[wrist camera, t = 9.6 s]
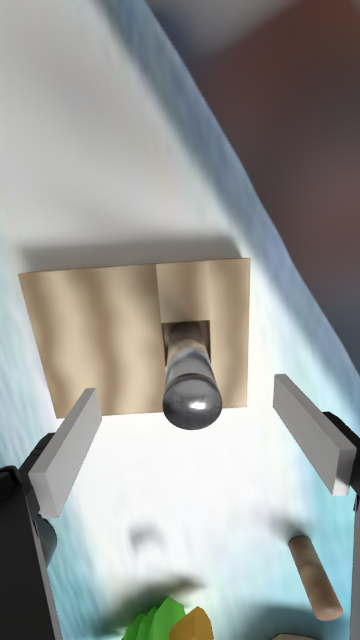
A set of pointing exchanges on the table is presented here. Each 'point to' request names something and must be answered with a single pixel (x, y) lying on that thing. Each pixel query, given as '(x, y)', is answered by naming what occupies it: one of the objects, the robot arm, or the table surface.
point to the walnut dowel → (315, 580)
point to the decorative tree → (170, 624)
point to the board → (137, 329)
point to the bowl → (291, 637)
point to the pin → (190, 380)
